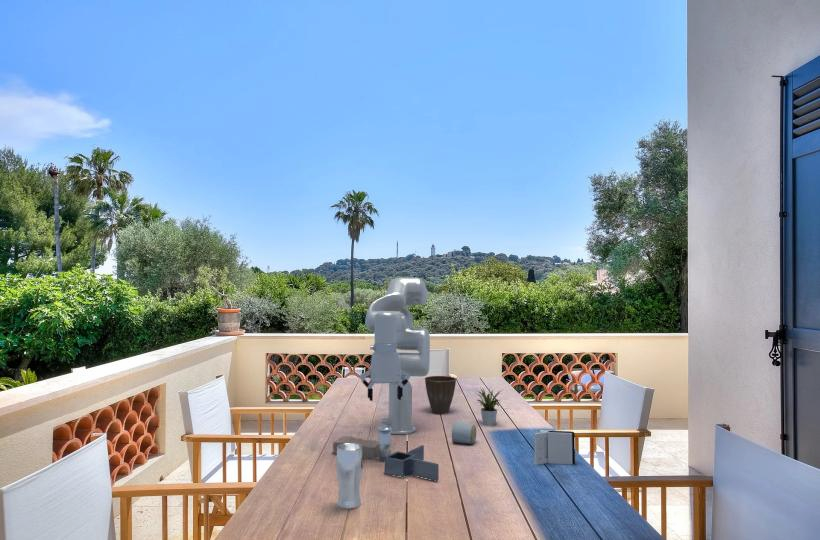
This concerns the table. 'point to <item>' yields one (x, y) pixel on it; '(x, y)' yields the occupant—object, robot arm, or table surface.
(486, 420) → the house plant
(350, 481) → the beer glass
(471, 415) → the table surface
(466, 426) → the ceramic mug
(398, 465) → the grey cross-shaped holder
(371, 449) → the brick
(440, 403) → the plant pot
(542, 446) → the hinge
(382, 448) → the hinge pin
